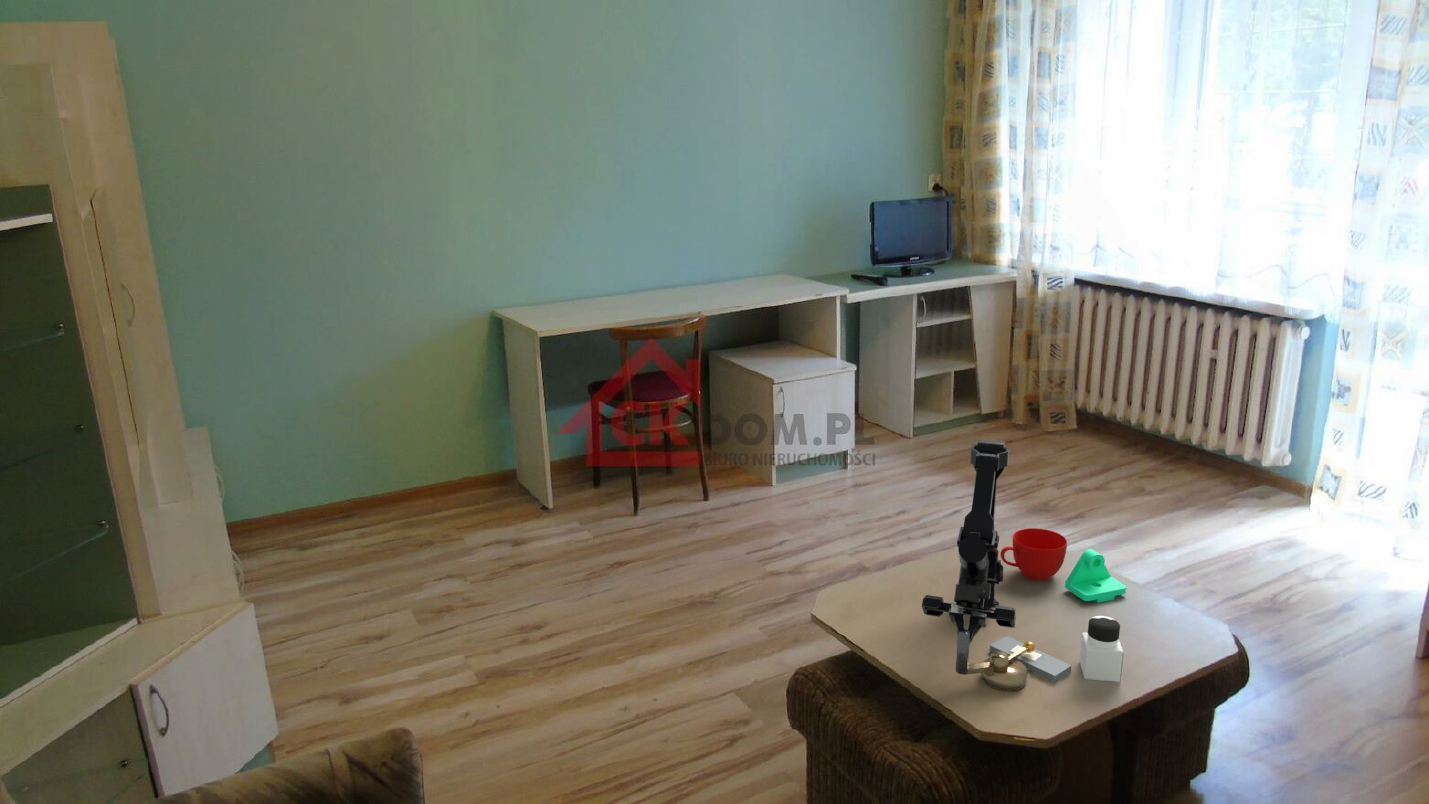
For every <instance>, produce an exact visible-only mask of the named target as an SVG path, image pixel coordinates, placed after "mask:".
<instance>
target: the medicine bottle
mask: <svg viewBox="0 0 1429 804" xmlns="http://www.w3.org/2000/svg"><path fill="white" fill-rule="evenodd" d="M1087 627H1088V628H1087V632H1082V634H1081V641H1080V651H1079V665H1080V667H1081V671H1082V676H1083V679H1084V680H1091V681H1104V682H1113V683H1114V682H1115V683H1121V680H1122V671H1123V660H1124V655H1125V654H1124V649H1123V647H1122V644H1121V641H1120V631H1121V630H1120V629H1121V624H1120V623H1119V622H1118V621H1117V620H1116V619H1114V618H1112V617H1110V616H1107V615H1096V616H1093V617H1091V618H1090V619H1089V620H1088V626H1087Z"/></svg>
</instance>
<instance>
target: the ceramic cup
mask: <svg viewBox="0 0 1429 804" xmlns="http://www.w3.org/2000/svg"><path fill="white" fill-rule="evenodd" d="M1067 548H1068V541H1067V538H1066V537H1065V536H1064V535H1062V534H1060V533H1058V532H1056V531H1053V530H1049V529H1046V528H1045V529H1044V528H1035V527H1033V528H1031V527H1030V528H1023V529H1019V530H1017V531H1015V532H1014V533H1013V534H1012V546H1004V547H1003V548H1002V549H1001V551H1000V554H999V555H1000V558H1001V559H1000V560H1001V561H1003V563H1005V564H1006V565H1008V566H1010V567H1016V568H1018V570H1019V571H1020V572H1021V573H1022V574H1023V576H1024V577H1025V578H1027V579H1028V580H1032V581H1037V582H1045V581H1048V580H1050V579H1051V578H1052V577H1054V576H1055V575H1056V574H1057V573H1058V572H1059V571H1060V569H1061V568H1062V566H1063V564H1064V561H1065V558H1066V554H1067V550H1068V549H1067ZM1008 551H1012V554H1013V560H1014V562H1010V561H1008V560H1007V559H1006V558H1005V554H1006V552H1008Z"/></svg>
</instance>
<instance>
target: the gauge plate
mask: <svg viewBox="0 0 1429 804" xmlns="http://www.w3.org/2000/svg"><path fill="white" fill-rule="evenodd" d="M1023 645H1024V642H1022V641H1018V640H1017V639H1014V638H1013V637H1010V636H1008V635H1006V636H1004V637H1002V638H1000V639H999V640H997V641H995V642H993V643H992V644H990V645H989V652H991V653H992V652H995V651H1001V652H1004V653H1006V654H1008V656H1010V655H1012V654H1014V653H1015V652H1017V651H1018V650H1020V649H1022V648H1023ZM1015 660H1018V661H1019V662H1021V663H1022V664H1024V665H1025V667H1026V668H1027V671H1029V672H1032V673H1034V674H1036V675H1039V676H1041V677H1042V678H1045V679H1047V680H1049V681H1051V682H1052V683H1056V682H1058V681H1059V680H1060V679H1063V678H1064V677H1065V676H1067V675H1068V674H1070V673H1072V665H1071V664H1069V663H1067V662H1065V661H1062V660H1061V659H1058V658H1056V657H1053V656H1051V655H1050V654H1047V653H1045V652H1042V651H1041V650H1039V649H1036V648H1035V650H1034V651H1033V652H1032V653H1027V652H1026V653H1024V654H1023V655H1021V656H1020V657H1018V658H1016V659H1015Z"/></svg>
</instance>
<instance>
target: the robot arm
mask: <svg viewBox="0 0 1429 804" xmlns="http://www.w3.org/2000/svg"><path fill="white" fill-rule="evenodd" d="M1010 452H1011V448H1010V447H1009V446H1006V443H1005V441H994V440H984V439H983V440H982V439H978V440H977V444H974V443H972V445H971V448H970V461H969V463H970V464H971V465H972V466H973V469H974V471H975V472H976V473H975V479H974V488H973V495H972V504H971V511H969V512H968V513H967V514H966V516H964V520H963V526H960V529H959V531H958V532H959V533H958V536H957V541H956V545H957V547H958V551H957V552H958V557H959V563H960V569H959V574H958V575H959V576H958V583H956V584H955V590H954V591H955V592H954V599H953V601H954V603H950V602H944V598H943V597H942V596H936V595H928V594H926V595H925V596H923V598H922V601H921V602H922V603H921V609H922V612H923V614H924V615H925V616H932V617H938V618H939V617H941V616H942V615H944V613H948V616H949V620H950V622H951V623H952V624H955V626H956V629H957V631H958V630H960V629H966V620H965V616H969V621H968V622H969V623H968V627H967V630H968V631H969V632H970V641H969V646H971V643H972V642H973V639H974V638H975V636H976V634H978V632H979V631H980V630H981V628H986V627H987V620H988V619H990V620H995V623H996V624H997V625H998V626H999V627H1003V628H1010V629H1011V628H1013V629H1014V628H1016V619H1017V618H1016V617H1017V615H1016V609H1015V608H1014V607H1012V606H1005V605H1000V602H999V601H998V600H996V599H995V592H996V590H995V586H996V585H1000V583H1002V582H1003V581H1004V566H1003V564H1002V562H1001V561H1002V559H999V550H998V548H999V542H1000V535H999V532H998V531H997V530H995V515H996V502H997V490H998V489H997V488H998V478H999V477H1000V476H1001V475H1002V474H1003V472H1004V471H1005V469H1006V467H1008V465H1009V462H1010V461H1009V460H1010ZM991 607H995V608H994V609H990V608H991Z"/></svg>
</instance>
